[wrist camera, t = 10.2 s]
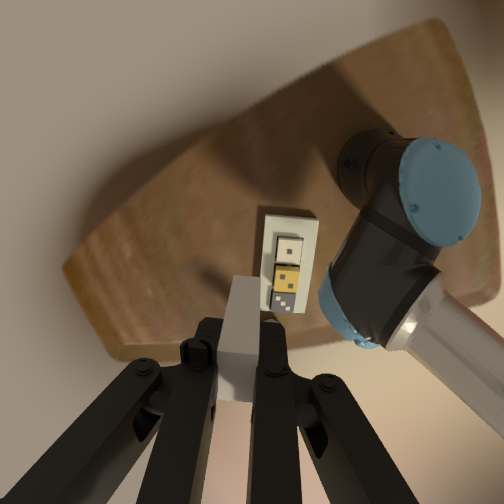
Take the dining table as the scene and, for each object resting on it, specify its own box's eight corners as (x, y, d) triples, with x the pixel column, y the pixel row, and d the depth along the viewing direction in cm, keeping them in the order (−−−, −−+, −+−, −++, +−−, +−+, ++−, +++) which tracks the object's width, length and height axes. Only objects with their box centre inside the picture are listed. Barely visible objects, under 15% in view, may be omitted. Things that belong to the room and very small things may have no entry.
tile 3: (272, 287, 54) (273, 293, 52) (294, 289, 54) (295, 294, 52) (270, 306, 55) (270, 312, 53) (291, 307, 55) (292, 313, 53)
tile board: (265, 213, 50) (265, 216, 48) (317, 218, 50) (319, 220, 48) (257, 306, 56) (257, 310, 55) (303, 309, 56) (304, 313, 54)
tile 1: (278, 235, 50) (279, 239, 48) (301, 237, 50) (302, 241, 48) (276, 257, 52) (276, 261, 50) (298, 259, 52) (299, 263, 50)
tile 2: (275, 265, 51) (276, 270, 49) (298, 267, 51) (299, 272, 49) (273, 285, 52) (273, 291, 50) (295, 287, 52) (296, 293, 50)
